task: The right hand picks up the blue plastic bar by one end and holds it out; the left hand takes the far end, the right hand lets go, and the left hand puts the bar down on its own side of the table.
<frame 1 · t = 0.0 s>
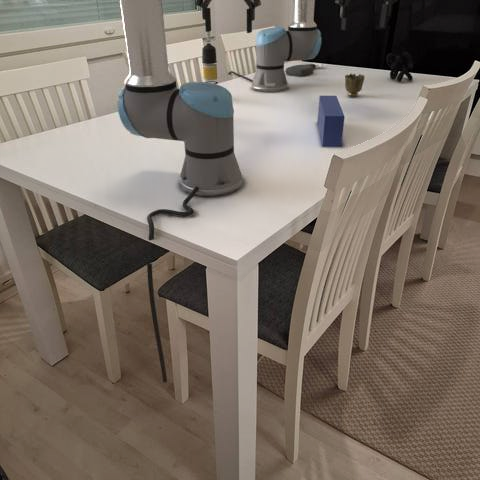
left hand: (228, 32, 139), 28 cm above the table, tool pointing down, fingers open, 13 cm apart
right hand: (363, 28, 140), 28 cm above the table, tool pointing down, fingers open, 13 cm apart
dark grey paddle: (306, 71, 220), on the table
bracket: (160, 115, 160), on the table
bar: (328, 133, 140), on the table
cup: (352, 96, 178), on the table
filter: (211, 98, 179), on the table
squiggle: (399, 80, 200), on the table
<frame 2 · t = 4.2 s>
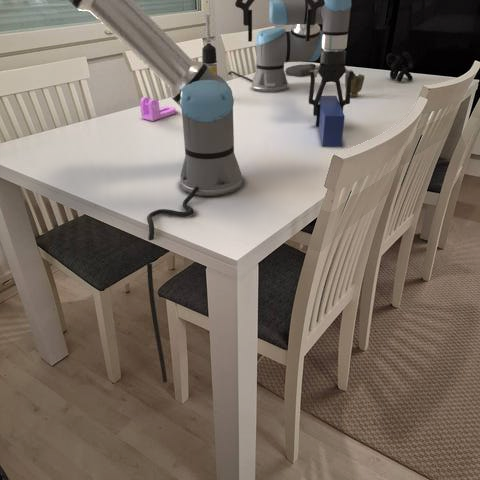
left hand: (278, 40, 106), 30 cm above the table, tool pointing down, fingers open, 13 cm apart
right hand: (326, 125, 146), 1 cm above the table, tool pointing down, fingers closed on bar, 5 cm apart
bar: (328, 133, 140), on the table, touching right hand
everything else where it was.
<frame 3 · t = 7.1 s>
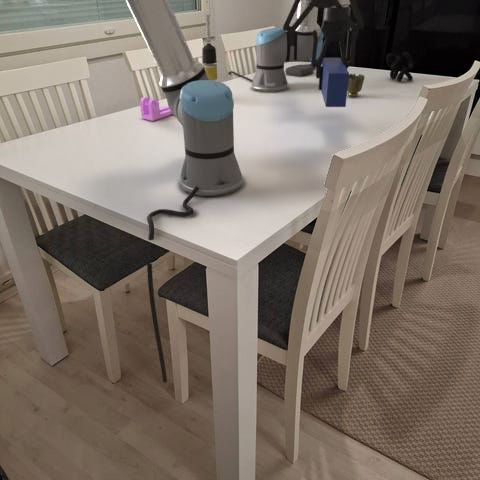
left hand: (321, 59, 117), 24 cm above the table, tool pointing down, fingers open, 13 cm apart
right hand: (330, 88, 140), 12 cm above the table, tool pointing down, fingers closed on bar, 5 cm apart
bar: (331, 96, 134), point 12 cm above the table, touching right hand
everything else where it was.
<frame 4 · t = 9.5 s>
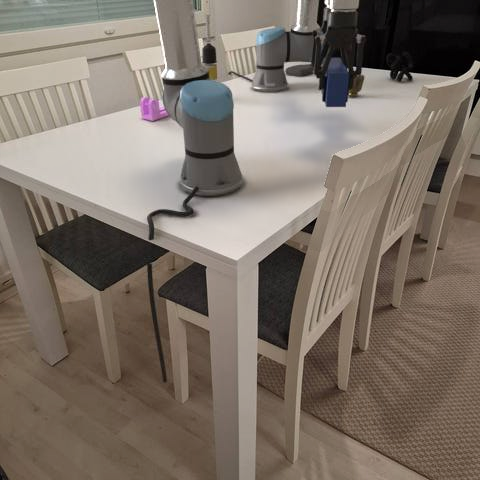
left hand: (334, 100, 128), 12 cm above the table, tool pointing down, fingers closed on bar, 5 cm apart
right hand: (330, 88, 140), 12 cm above the table, tool pointing down, fingers closed on bar, 5 cm apart
bar: (332, 96, 134), point 12 cm above the table, touching left hand, right hand
everything else where it was.
when the right hand's fingers open (12 cm above the table, at t = 10.2 s): bar stays where it is, held by the left hand.
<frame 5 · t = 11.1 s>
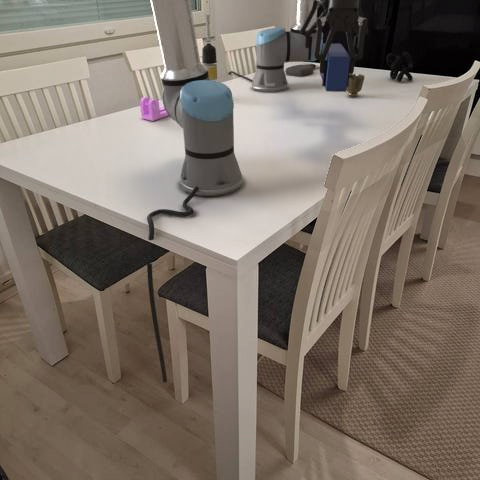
left hand: (334, 85, 126), 16 cm above the table, tool pointing down, fingers closed on bar, 5 cm apart
right hand: (331, 59, 138), 20 cm above the table, tool pointing down, fingers open, 13 cm apart
bar: (332, 82, 132), point 16 cm above the table, touching left hand
everything else where it was.
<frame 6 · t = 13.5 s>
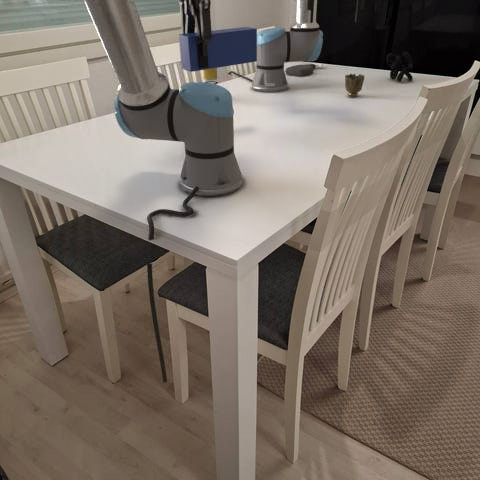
left hand: (198, 65, 127), 21 cm above the table, tool pointing down, fingers closed on bar, 5 cm apart
right hand: (333, 22, 135), 30 cm above the table, tool pointing down, fingers open, 13 cm apart
bar: (220, 65, 131), point 21 cm above the table, touching left hand
everything else where it was.
when the left hand's fingers open (2 cm above the table, at t = 17.8 s): bar drops 1 cm, on the table.
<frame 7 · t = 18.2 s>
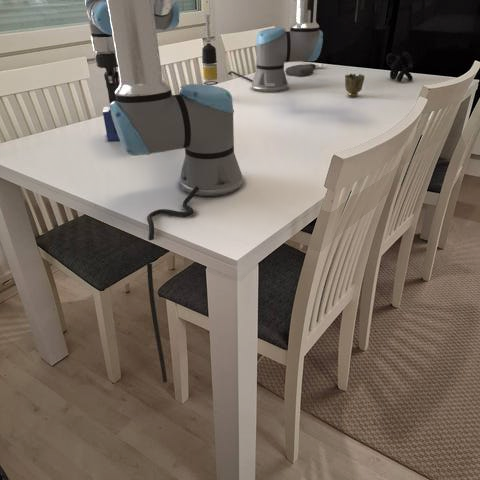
left hand: (120, 127, 140), 3 cm above the table, tool pointing down, fingers open, 10 cm apart
right hand: (333, 22, 135), 30 cm above the table, tool pointing down, fingers open, 13 cm apart
bar: (144, 135, 142), on the table
everything else where it was.
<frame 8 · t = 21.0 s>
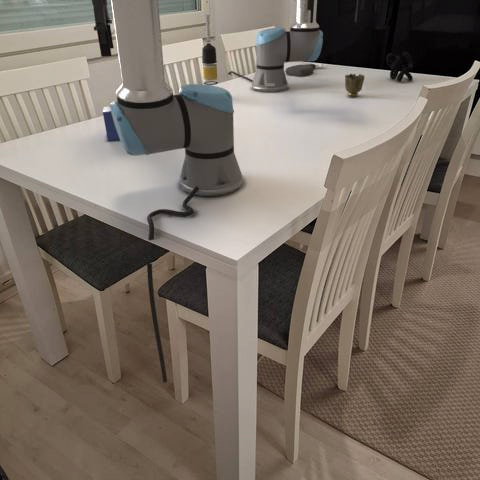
left hand: (107, 52, 128), 25 cm above the table, tool pointing down, fingers open, 13 cm apart
right hand: (333, 22, 135), 30 cm above the table, tool pointing down, fingers open, 13 cm apart
nothing on the table moved.
at the end: bar inside the target area (7.2 cm from its centre), on the table; the left hand is holding nothing; the right hand is holding nothing; bar at rest at the end (0.0 cm/s) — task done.
